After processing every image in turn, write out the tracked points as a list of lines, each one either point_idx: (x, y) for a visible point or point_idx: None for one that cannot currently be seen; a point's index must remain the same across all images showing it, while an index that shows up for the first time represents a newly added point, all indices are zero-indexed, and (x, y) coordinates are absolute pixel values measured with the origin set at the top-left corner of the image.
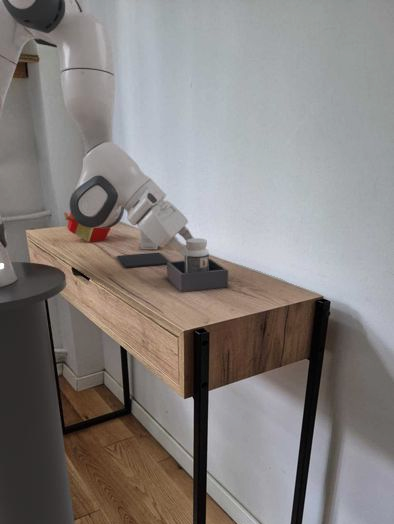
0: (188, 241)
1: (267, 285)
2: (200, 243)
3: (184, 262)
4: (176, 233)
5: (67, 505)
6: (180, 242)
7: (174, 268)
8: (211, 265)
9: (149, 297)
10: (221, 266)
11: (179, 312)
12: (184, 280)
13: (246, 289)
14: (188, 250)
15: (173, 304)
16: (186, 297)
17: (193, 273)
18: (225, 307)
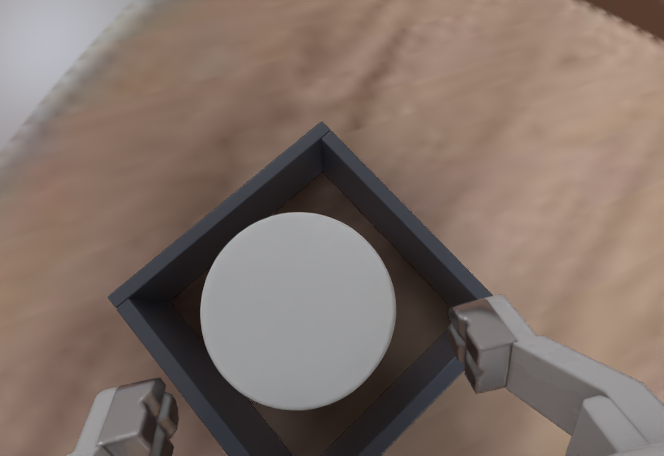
0: (375, 358)
1: (238, 28)
2: (362, 239)
3: (231, 428)
4: (616, 453)
5: None
6: (572, 365)
7: (419, 413)
8: (172, 273)
9: None
10: (267, 174)
11: None
12: None
13: (321, 83)
14: (486, 299)
15: (636, 277)
16: (530, 264)
17: (460, 263)
18: (558, 88)
